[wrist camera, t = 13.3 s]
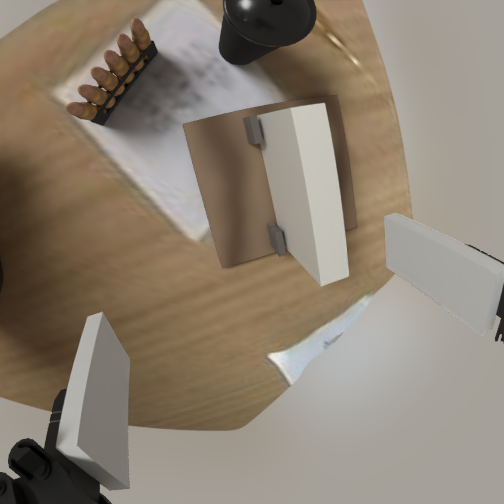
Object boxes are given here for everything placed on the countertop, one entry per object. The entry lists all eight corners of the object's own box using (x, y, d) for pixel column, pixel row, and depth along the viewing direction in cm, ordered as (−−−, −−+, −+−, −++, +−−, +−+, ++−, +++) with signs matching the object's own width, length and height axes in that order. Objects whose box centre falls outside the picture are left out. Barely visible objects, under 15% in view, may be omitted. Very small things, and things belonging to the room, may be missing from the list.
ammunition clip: (146, 44, 28) (133, 6, 17) (158, 52, 29) (150, 15, 18) (91, 118, 30) (52, 111, 19) (102, 125, 30) (68, 122, 19)
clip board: (220, 263, 40) (226, 280, 35) (182, 124, 33) (183, 122, 28) (351, 224, 42) (370, 235, 38) (331, 95, 35) (351, 92, 30)
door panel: (281, 243, 39) (321, 286, 28) (253, 116, 33) (290, 107, 22) (303, 236, 40) (349, 276, 29) (278, 111, 33) (324, 102, 22)
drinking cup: (195, 61, 30) (217, -16, 12) (223, 11, 28) (270, -83, 10) (254, 86, 33) (334, 42, 15) (279, 37, 31) (368, -30, 13)
